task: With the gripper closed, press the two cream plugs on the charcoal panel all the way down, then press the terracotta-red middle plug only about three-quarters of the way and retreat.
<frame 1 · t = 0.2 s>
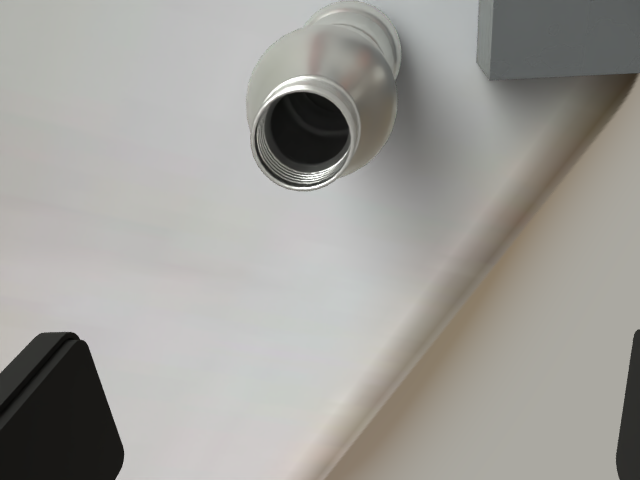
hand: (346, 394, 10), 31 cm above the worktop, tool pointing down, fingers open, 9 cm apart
plastic bottle: (350, 52, 37), on the worktop
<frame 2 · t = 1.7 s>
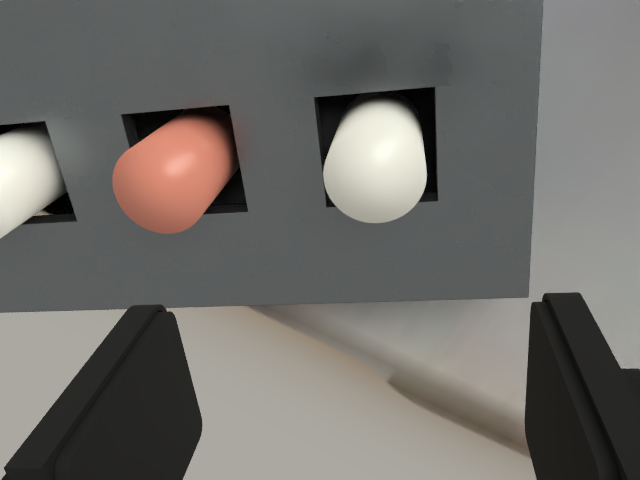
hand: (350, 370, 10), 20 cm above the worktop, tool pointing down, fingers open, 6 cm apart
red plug: (186, 164, 24), point 6 cm above the worktop, slide at 0.0 cm
cream plug 1: (14, 176, 25), point 6 cm above the worktop, slide at 0.0 cm
panel: (225, 127, 29), on the worktop
cream plug 2: (377, 150, 23), point 6 cm above the worktop, slide at 0.0 cm
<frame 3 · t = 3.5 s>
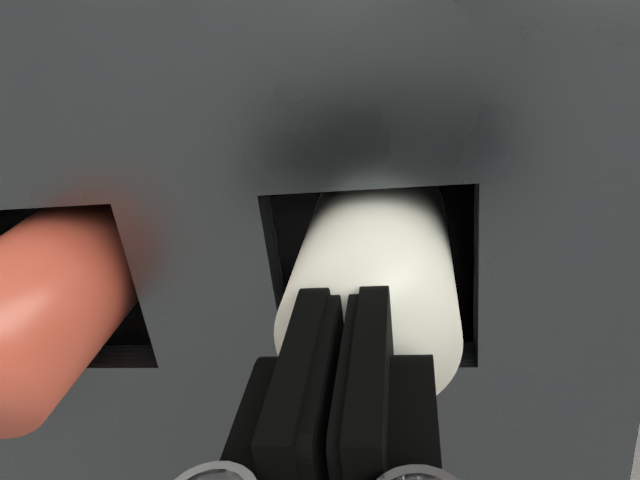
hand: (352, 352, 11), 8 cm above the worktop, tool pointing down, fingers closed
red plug: (50, 294, 14), point 6 cm above the worktop, slide at 0.0 cm
panel: (147, 201, 19), on the worktop
cream plug 2: (374, 267, 14), point 5 cm above the worktop, slide at 0.9 cm, touching gripper
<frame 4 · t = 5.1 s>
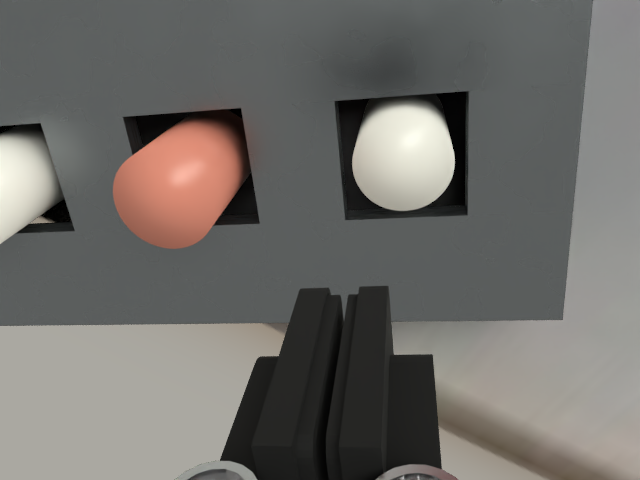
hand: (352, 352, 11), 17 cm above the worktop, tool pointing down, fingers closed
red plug: (193, 171, 22), point 6 cm above the worktop, slide at 0.0 cm
cream plug 1: (7, 182, 23), point 6 cm above the worktop, slide at 0.0 cm
panel: (234, 129, 27), on the worktop
cream plug 2: (403, 140, 23), point 3 cm above the worktop, slide at 2.5 cm
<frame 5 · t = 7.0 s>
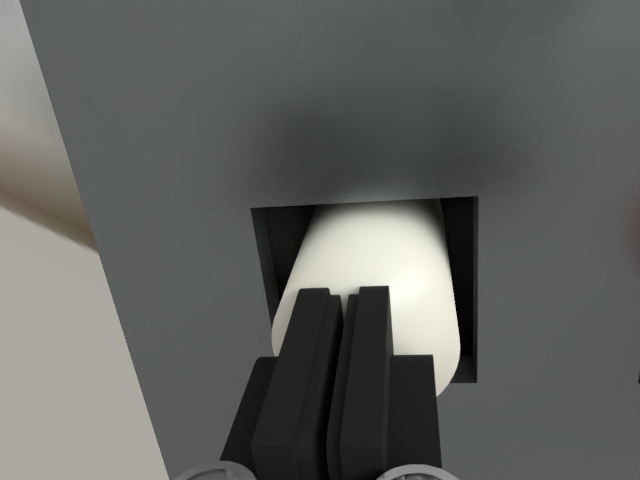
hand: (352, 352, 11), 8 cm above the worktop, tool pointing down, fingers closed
cream plug 1: (372, 271, 14), point 5 cm above the worktop, slide at 1.3 cm, touching gripper
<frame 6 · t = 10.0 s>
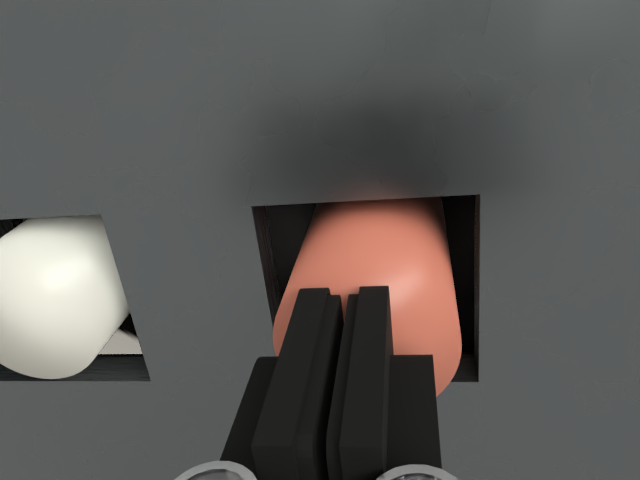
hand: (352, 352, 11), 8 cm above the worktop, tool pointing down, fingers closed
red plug: (373, 269, 14), point 5 cm above the worktop, slide at 1.3 cm, touching gripper
cream plug 1: (90, 257, 16), point 4 cm above the worktop, slide at 2.5 cm
panel: (381, 195, 18), on the worktop
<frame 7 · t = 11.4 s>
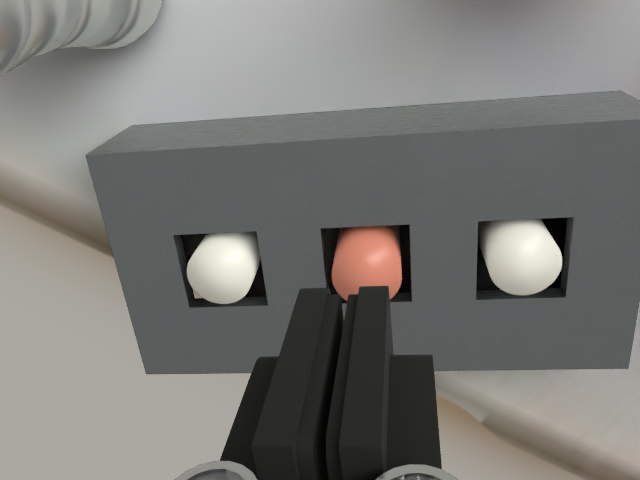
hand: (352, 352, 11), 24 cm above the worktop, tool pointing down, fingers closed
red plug: (367, 250, 32), point 4 cm above the worktop, slide at 1.8 cm
cream plug 1: (232, 250, 34), point 4 cm above the worktop, slide at 2.5 cm
panel: (369, 220, 36), on the worktop
cream plug 2: (512, 239, 32), point 3 cm above the worktop, slide at 2.5 cm
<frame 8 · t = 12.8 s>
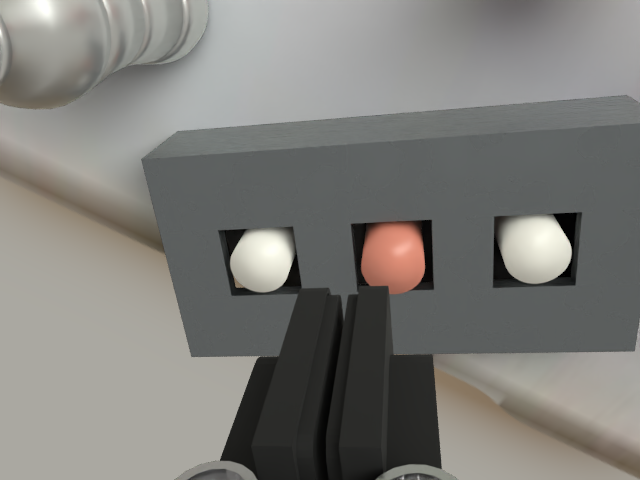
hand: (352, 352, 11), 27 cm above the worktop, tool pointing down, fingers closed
plastic bottle: (165, 0, 35), on the worktop
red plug: (393, 243, 35), point 4 cm above the worktop, slide at 1.8 cm
cream plug 1: (269, 244, 37), point 4 cm above the worktop, slide at 2.5 cm
panel: (394, 216, 39), on the worktop
cream plug 2: (526, 232, 35), point 3 cm above the worktop, slide at 2.5 cm
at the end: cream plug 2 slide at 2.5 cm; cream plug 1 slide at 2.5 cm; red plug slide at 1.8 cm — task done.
